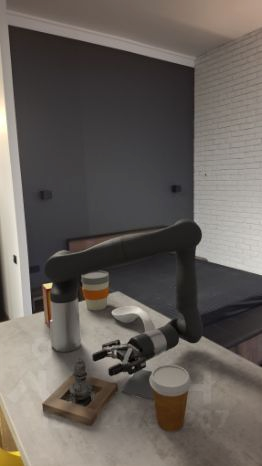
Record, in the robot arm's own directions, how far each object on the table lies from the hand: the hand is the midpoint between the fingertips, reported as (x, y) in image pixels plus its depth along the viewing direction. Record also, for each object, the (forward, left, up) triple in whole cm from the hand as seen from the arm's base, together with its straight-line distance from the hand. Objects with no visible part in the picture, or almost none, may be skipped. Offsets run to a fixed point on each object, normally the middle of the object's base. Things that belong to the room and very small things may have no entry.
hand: (100, 365), depth 86 cm
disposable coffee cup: (+21, -4, -8) cm, 22 cm away
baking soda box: (-38, +32, -8) cm, 50 cm away
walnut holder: (-3, -5, -8) cm, 10 cm away
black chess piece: (-3, -5, -8) cm, 10 cm away
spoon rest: (-8, +40, -8) cm, 42 cm away
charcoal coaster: (+11, +7, -8) cm, 15 cm away
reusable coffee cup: (-31, +51, -8) cm, 60 cm away
